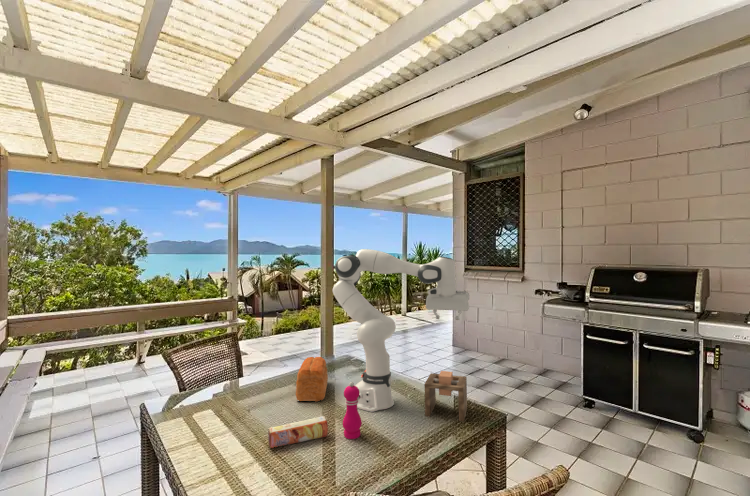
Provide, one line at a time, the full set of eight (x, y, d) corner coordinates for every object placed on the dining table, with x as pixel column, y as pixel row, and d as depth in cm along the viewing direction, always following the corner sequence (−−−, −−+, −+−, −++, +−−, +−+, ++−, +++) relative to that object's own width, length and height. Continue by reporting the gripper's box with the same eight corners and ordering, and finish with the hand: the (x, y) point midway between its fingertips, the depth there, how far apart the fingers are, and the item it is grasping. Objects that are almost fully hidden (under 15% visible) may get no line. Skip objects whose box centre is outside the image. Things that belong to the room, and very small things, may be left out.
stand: (425, 416, 146) (424, 383, 147) (431, 402, 160) (430, 372, 160) (464, 421, 141) (463, 387, 141) (467, 407, 154) (466, 376, 155)
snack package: (269, 451, 122) (269, 432, 122) (267, 442, 128) (267, 423, 128) (328, 438, 130) (328, 420, 130) (324, 430, 136) (324, 413, 136)
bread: (328, 381, 190) (327, 353, 190) (324, 401, 163) (324, 369, 163) (302, 382, 189) (302, 354, 189) (294, 403, 162) (294, 370, 162)
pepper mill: (359, 440, 127) (358, 385, 128) (340, 439, 129) (339, 384, 129) (363, 431, 135) (362, 379, 135) (345, 429, 136) (345, 378, 137)
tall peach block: (439, 394, 148) (438, 375, 148) (441, 388, 155) (441, 370, 155) (450, 396, 147) (450, 377, 147) (453, 390, 153) (452, 371, 153)
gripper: (469, 290, 166) (470, 319, 165) (427, 289, 173) (427, 317, 172) (468, 291, 160) (469, 321, 159) (424, 290, 167) (425, 319, 166)
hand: (447, 319), depth 166 cm, fingers open, 8 cm apart
